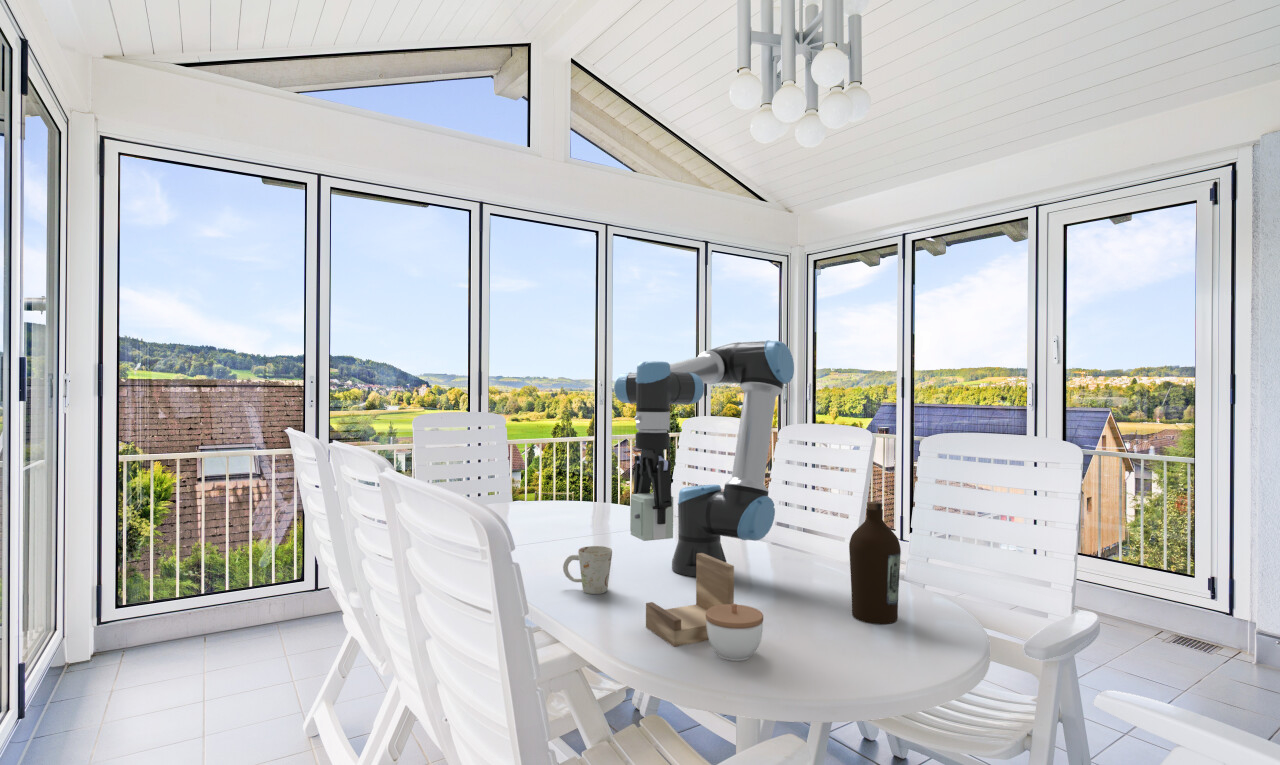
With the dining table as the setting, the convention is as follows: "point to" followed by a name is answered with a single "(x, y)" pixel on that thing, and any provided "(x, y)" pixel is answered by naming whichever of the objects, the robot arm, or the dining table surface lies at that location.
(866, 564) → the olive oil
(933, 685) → the dining table surface
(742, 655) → the lidded jar
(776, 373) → the robot arm
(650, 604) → the wooden stand
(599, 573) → the mug
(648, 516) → the cabinet block
